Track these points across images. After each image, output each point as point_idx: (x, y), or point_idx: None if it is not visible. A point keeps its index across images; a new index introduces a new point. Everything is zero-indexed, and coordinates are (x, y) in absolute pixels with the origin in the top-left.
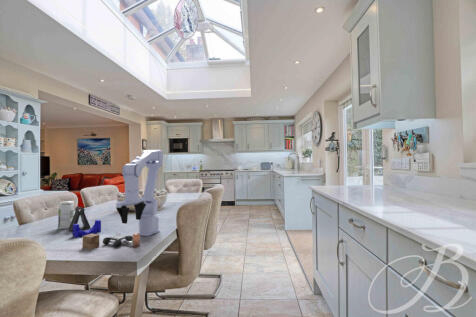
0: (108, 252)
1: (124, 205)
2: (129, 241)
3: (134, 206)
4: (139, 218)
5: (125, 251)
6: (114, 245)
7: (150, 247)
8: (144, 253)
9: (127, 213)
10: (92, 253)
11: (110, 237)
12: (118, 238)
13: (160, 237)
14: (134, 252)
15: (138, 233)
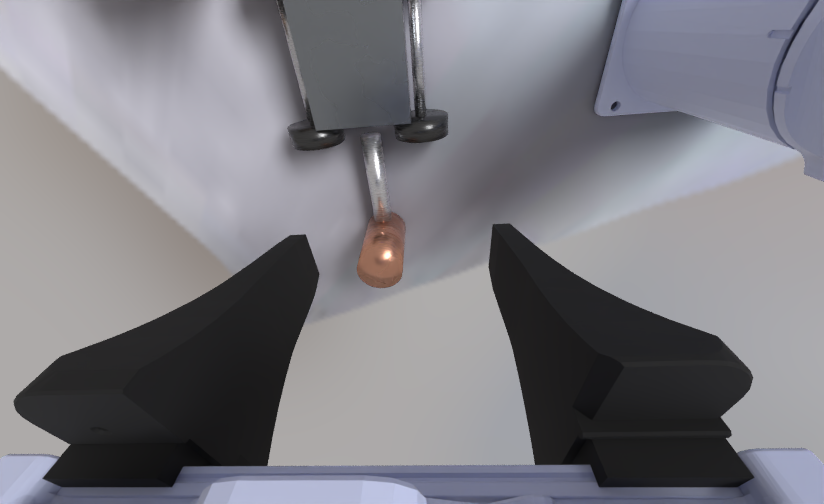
0: (239, 170)
1: (175, 501)
2: (375, 189)
3: (573, 329)
4: (491, 277)
5: (312, 233)
6: (296, 122)
7: (416, 284)
8: (351, 309)
9: (275, 384)
10: (150, 95)
11: (290, 7)
12: (325, 118)
13: (586, 216)
14: (332, 274)
15: (399, 270)
